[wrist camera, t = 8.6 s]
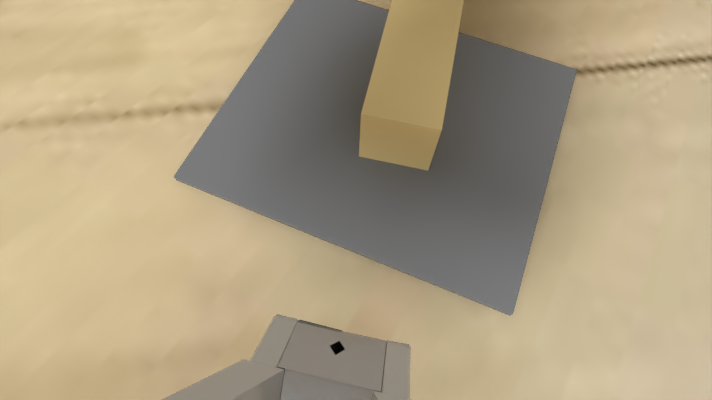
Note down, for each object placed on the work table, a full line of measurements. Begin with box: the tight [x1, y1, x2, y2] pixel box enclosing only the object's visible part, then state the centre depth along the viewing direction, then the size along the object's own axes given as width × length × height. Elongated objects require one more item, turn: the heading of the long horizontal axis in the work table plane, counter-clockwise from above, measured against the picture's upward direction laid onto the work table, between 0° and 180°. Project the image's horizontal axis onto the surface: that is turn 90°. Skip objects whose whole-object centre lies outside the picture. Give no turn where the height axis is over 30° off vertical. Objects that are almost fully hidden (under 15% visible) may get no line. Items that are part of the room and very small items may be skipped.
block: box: [359, 0, 464, 171], centre depth 32 cm, size 5×5×12 cm
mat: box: [174, 0, 577, 315], centre depth 33 cm, size 24×21×1 cm
